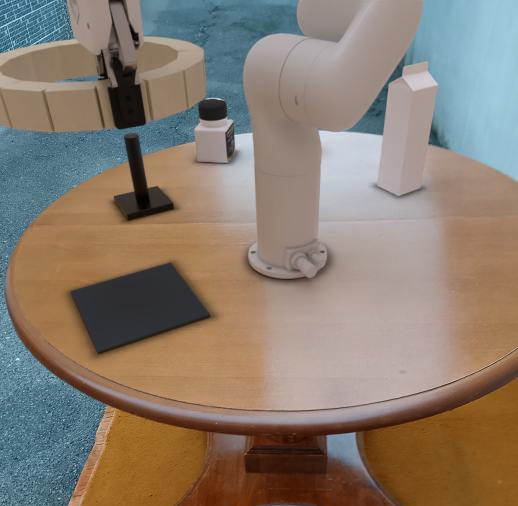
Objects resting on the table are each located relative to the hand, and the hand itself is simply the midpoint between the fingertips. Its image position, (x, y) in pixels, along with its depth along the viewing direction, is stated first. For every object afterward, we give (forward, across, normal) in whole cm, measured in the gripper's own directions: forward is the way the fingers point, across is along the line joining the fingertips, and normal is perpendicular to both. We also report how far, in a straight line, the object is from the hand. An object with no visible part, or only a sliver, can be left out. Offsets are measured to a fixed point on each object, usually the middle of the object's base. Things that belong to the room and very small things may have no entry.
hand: (125, 120), depth 57 cm
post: (+27, -37, +9) cm, 47 cm away
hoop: (0, -12, 0) cm, 12 cm away
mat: (+27, -6, -2) cm, 28 cm away
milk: (+27, -19, +55) cm, 64 cm away
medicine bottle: (+27, -53, +31) cm, 67 cm away
